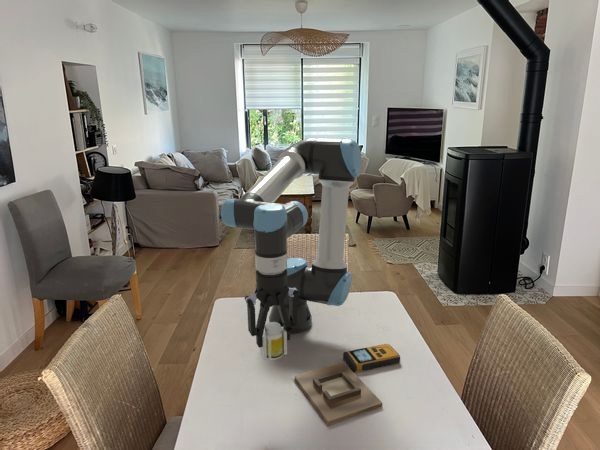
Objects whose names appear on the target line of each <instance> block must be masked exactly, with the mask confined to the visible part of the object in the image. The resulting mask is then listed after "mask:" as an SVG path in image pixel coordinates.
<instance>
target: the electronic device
mask: <svg viewBox="0 0 600 450" xmlns="http://www.w3.org/2000/svg"><path fill="white" fill-rule="evenodd" d="M342 356H343V357H342V359H343V362H344V363H345V364H346V365H347V366H348V367H349V368H350V369H351V370H352V371H353V372H354V374H356V373H358V372H366V371H370V370H375V369H380V368H385V367H390V366H393V365H398V364H400V362H401V355H400V354H399V353H398V352H397V350H396V349H394V348H393V346H391V344H389V343H384V344H379V345H372V346H367V347H362V348H357V349H352V350H348V351H344V352H343V354H342Z"/></svg>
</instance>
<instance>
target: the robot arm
mask: <svg viewBox="0 0 600 450" xmlns="http://www.w3.org/2000/svg"><path fill="white" fill-rule="evenodd" d="M362 165H363V163H362V153H361V148H360V146H359V144H358V142H357V141H356V140H354V139H345V138H325V137H324V138H320V137H319V138H318V137H309V138H305V139H302V140H300V141H297V142H295V143H293V144H292V145H290V146H289V147H287V148H286V149H285V150H283V151H282V152H281V153H280V154H279V155H278V157H277V162H276V163H274V164H273V165H272V167H271V168H269V169H268V170H267V172H265V173H264V174H263V175H262V176H261V178H259V179H258V180H257V181H256V182H255V183H254V184H253V185H252V186H251V187H250V188H249V189H248V190H247V191H246V192H245V193H244V194H243V195H242V196H241V197H240V198H228V199H226V200H225V201H224V202H223V203H222V205H221V209H220V217H221V221H222V223H223V224H224V225H225V226H227V227H230V228H231V227H232V228H236V229H244V230H252V231H254V253H255V254H254V255H255V256H254V257H255V269H256V271H255V280H256V281H255V285H256V288H255V291H254V294H252V295H245V296H244V298H243V299H244V300H245V303H246V307H247V309H246V310H247V331H248V332H249V335H251V337H255V339H256V340H255V341H256V342H255V343H256V345H257V347H258V348H259V349H260V350H259V351H260V353H259V354H260V356H261V357H262V360H264V361H266V360H268V359H267V350H266V336H265V334H264V332H265V325H266V324H267V318H268V323H269V322H277V323H279V324H280V325H281V332H282V337H283V355H288V341H291V340H290V339H291V334H297V333H302V332H304V331H307V330H308V329H309V328H310V327H311V326H312V325H313V324H312V323H313V321H312V320H313V317H312V313H311V310H310V307H309V304H308V302H312V303H317V304H322V305H323V304H324V305H326V306H335V307H341V306H342V305H344V303H345V302H346V301H347V300H348V299H347V298H348V296H349V294H350V291H351V286H352V281H353V274H352V272H350V271H348V264H347V263H346V262H345V261H344V252H345V242H346V241H345V239H346V230H347V216H348V215H347V214H348V206H349V205H348V204H349V203H348V202H349V195H350V194H349V192H350V187H351V186H353V184H354V183H355V178H359V177H360V176H361V172H362V167H363V166H362ZM306 174H307V175H309V174H311V175H312V174H313V175H318V179H317V181H318V182H319V183H320V184H321V186H322V187H321V202H320V214H319V215H320V217H319V228H318V229H319V231H318V243H317V255H316V258H315V259H314V260H313V261H312V264H311V265H308V261H307V260H306V259H305V258H302V257H290V258H288V249H287V248H288V238H290V237H291V236H292V235H294V234H295V233H297V232H299V231H300V230H302V228H303V227H304V226H305V225H306V224H307V222H308V221H309V220H308V219H309V213H308V210H307V208H306V207H305V205H304V204H303V203H301V202H300V201H297V200H291V201H287V202H285V203H277V202H276V201H277V200H278V198H279V197H281V195H282V194H283V193H284V191H286V189H287V188H288V187H289V186H290V185H291V184H292V183H293V181H294V180H295V179H299V178H301V177H302V176H303V175H306ZM257 299H258V301H260V303H259V311H258V316H257V321H256V308H255V307H256V306H255V305H256V303H257V302H256V301H257ZM270 308H271V309H270ZM268 313H269V317H268Z"/></svg>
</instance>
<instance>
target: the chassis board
mask: <svg viewBox="0 0 600 450" xmlns="http://www.w3.org/2000/svg"><path fill="white" fill-rule="evenodd" d="M293 380H294V381H295V382H296V384H297V385H298V386H299V388H300V390H302V392H303V393H304V395H305V396H306V398H307V399H308V401H309V402H310V403H311V405H312V406H313V407H314V408H315V411H317V412H318V414H319V415H320V417H321V418H322V419H323V421H324V422H325V423H326V425H327V426H331V425H333V424H334V425H335V424H336V423H337V424H338V423H339V422H342V421H346V420H348V419H352V418H355V417H356V416H360V415H362V414H365V413H368V412H369V413H370V412H372V411H374V410H377V409H380V408H383V402H382V401H381V400H380V398H379V397H378V396H376V394H375V393H374V392H372V390H371V389H370V388H369V387H368V386H367V385H366V384H365V383H364V382H363V381H362V379H361V378H359V376H358V375H356V373H354V372H353V371H352V370H351V369H350V368H349V366H348V365H347V363H346V362H345V361H341V362H339V363H335V364H330V365H327V366H324V367H321V368H316V369H315V370H314V369H313V370H310V371H306V372H304V373H300V374H296V375H294V378H293Z"/></svg>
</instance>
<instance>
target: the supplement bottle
mask: <svg viewBox="0 0 600 450" xmlns="http://www.w3.org/2000/svg"><path fill="white" fill-rule="evenodd" d="M264 334H265V336H266V350H267V359H266V360H270V361H276V360H279V359H281V358H282V357H283V355H284V354H283V337H282V332H281V325H280V324H279V323H277V322H269V321H268V322H266V323H265V328H264Z"/></svg>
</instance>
